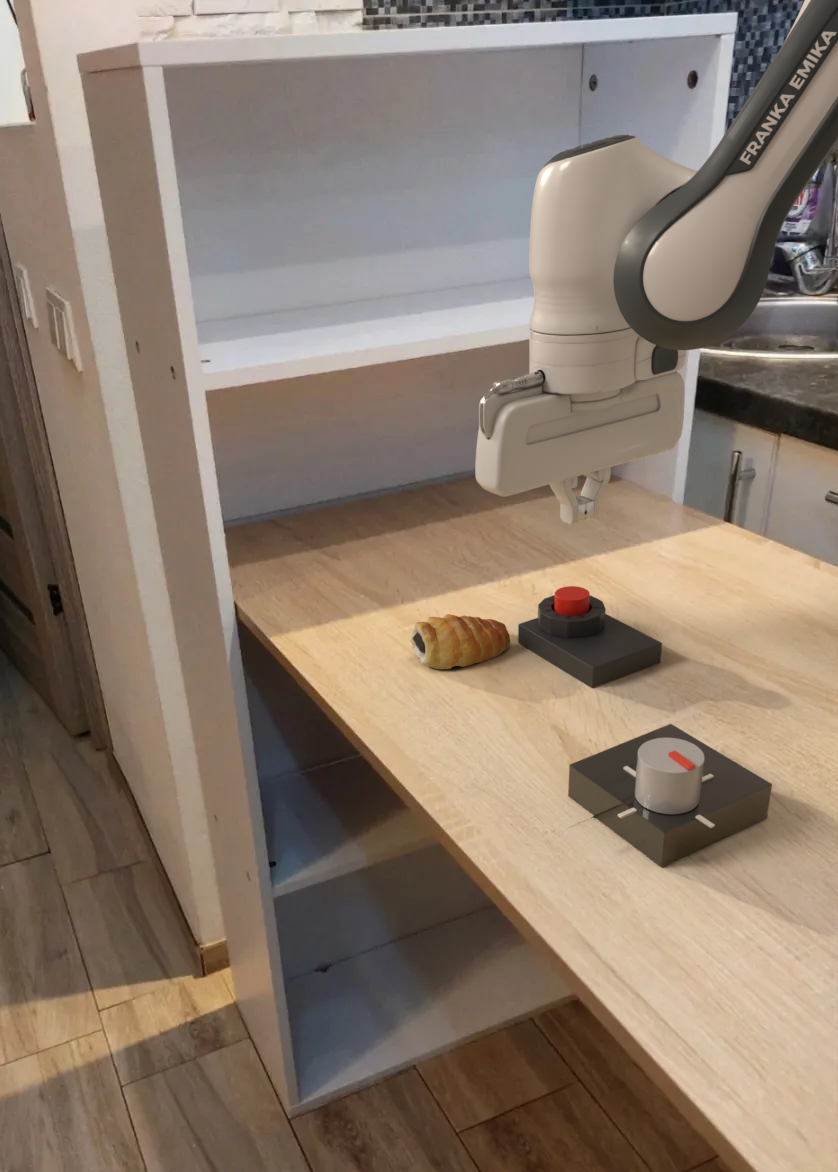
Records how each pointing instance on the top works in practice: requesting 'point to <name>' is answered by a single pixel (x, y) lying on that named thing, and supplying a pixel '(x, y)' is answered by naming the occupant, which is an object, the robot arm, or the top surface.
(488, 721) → the top surface
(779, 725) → the top surface
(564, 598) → the button
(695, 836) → the hob console
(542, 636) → the box
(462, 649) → the pastry
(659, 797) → the hob knob
